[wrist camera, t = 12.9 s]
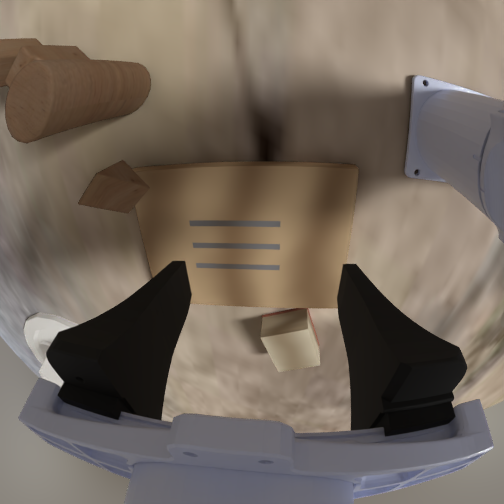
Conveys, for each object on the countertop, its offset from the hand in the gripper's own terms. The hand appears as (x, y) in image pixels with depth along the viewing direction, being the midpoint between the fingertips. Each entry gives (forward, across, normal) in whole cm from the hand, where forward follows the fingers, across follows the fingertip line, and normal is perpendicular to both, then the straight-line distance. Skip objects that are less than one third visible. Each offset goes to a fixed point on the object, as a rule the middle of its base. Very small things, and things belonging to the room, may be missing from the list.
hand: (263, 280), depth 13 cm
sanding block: (+11, -2, +15) cm, 18 cm away
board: (+10, +2, +4) cm, 11 cm away
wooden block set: (+10, +13, -9) cm, 19 cm away
